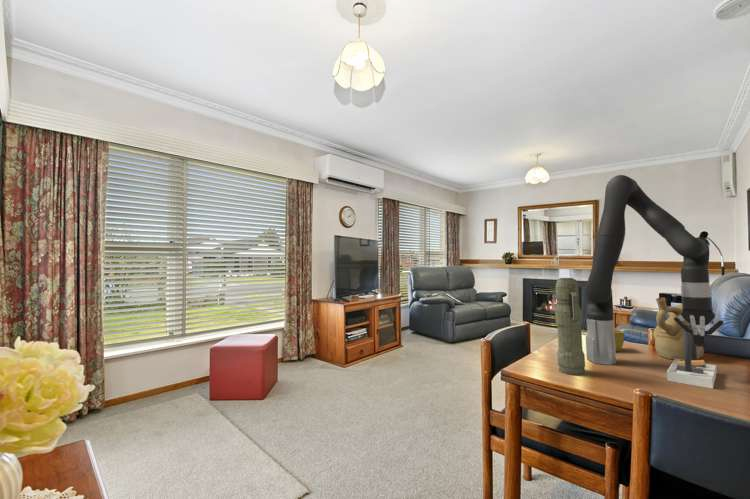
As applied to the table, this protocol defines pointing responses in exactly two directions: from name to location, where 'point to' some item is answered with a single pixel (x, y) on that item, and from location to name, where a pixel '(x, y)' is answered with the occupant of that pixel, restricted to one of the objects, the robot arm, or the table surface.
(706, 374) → the breaker board
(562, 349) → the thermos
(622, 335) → the flower pot
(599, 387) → the table surface
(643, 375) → the table surface
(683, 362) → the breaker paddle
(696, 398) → the table surface
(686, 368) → the dark grey peg
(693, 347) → the dark grey rod
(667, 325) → the ceramic vessel
